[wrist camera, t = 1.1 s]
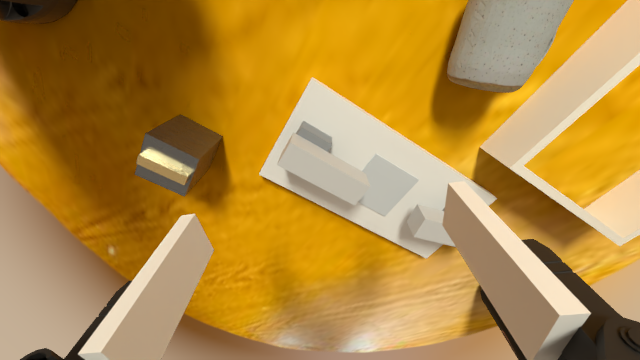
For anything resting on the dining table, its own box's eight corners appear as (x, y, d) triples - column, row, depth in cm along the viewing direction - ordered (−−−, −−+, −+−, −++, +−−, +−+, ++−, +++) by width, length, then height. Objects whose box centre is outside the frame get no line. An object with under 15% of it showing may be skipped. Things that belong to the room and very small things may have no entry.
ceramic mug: (431, 78, 28) (466, 91, 22) (457, -12, 24) (509, -29, 17) (520, 86, 29) (581, 101, 22) (560, -1, 25) (650, -14, 18)
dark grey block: (169, 149, 33) (129, 178, 26) (180, 114, 31) (140, 136, 24) (209, 168, 34) (181, 200, 28) (222, 136, 32) (195, 162, 25)
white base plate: (261, 169, 34) (247, 197, 28) (312, 76, 28) (309, 87, 22) (423, 251, 42) (440, 288, 36) (490, 192, 36) (525, 224, 30)
